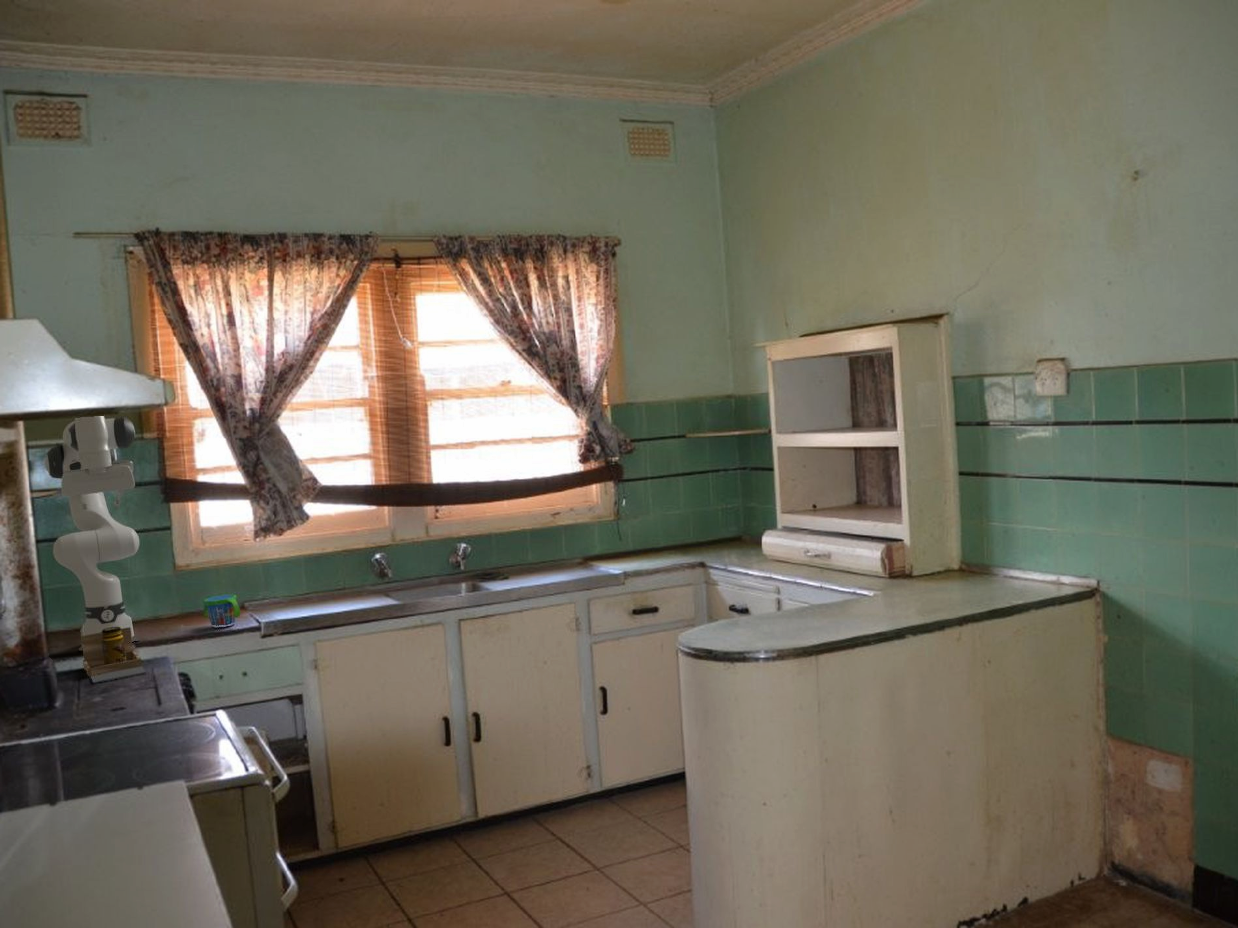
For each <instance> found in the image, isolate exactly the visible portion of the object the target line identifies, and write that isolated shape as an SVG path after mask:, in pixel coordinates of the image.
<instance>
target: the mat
mask: <svg viewBox="0 0 1238 928" xmlns="http://www.w3.org/2000/svg"><path fill="white" fill-rule="evenodd" d="M146 674H147V671H146V669H145V668H144V667H143V665H142V666H141V667H136V668H131V669H126V670H120V671H115V672H110V673H105V674H100V675H95V676H90V677H91V678H90V677H89V678H90V680H91V679H92V680H91V682H92V681H93V682H92V683H97V684H99V683H98V682H101V681H107V682H112V681H116V680H115V679H117V680H121V679H122V680H123V679H127V678H132V677H137V676H141V675H146ZM126 677H127V678H126ZM111 680H112V681H111Z"/></svg>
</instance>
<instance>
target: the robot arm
mask: <svg viewBox="0 0 1238 928" xmlns="http://www.w3.org/2000/svg"><path fill="white" fill-rule="evenodd" d="M135 439H136V431H135V427H134V424H133V422H132V421H131V420H130V419H129V418H127V417H125V416H119V417H114V418H113V417H111V418H105V415H104V416H94V417H81V418H75V417H74V421H72V422H70V423H68V424H67V425H66V426H65V428H64V430H63V433H62V440H63V443H61V444H59V442H57V443H55V446H53V447H51V448H50V449H49V450H48V451H47V452H46V456H45V460H44V466H45V469H46V471H47V473H48V475H49V476H50V477H51V478H53V479H61V486H60V487H61V494H62V496H64V497H68V503H69V509H70V513H71V518H72V522H73V524H74V526H75V527H76V528H77V529H79V531H78V532H72V533H68V534H65V535H62V536H59V537H58V538H57V539H56V540H55V542H54V544H53V547H52V552H53V553H52V554H53V557H54V559H55V560H56V562H57V563H58V564H59V565H61V566H63V567H65V568H66V569H68V570H70V571H71V572H72V573H74V575H75V576H76V577H77V579H79V580H78V581H79V582H80V584H81V587H82V590H83V596H84V602H85V606H84V614H85V618H86V621H85V622H83V625H82V627H81V628H80V637H81V636H82V635H88V634H93V633H99V632H102V630H103V629H105V628H110V627H120V628H121V629H122V628H127V627H130V628H131V636H132V637H133V636H135V634H134V627H133V622H132V618H131V616H130V615H128V614H127V613H126V605H125V601H124V600H123V596H122V588H121V587H122V586H121V581H120V579H119V577H118V576H117V575H115V574H112V573H110V572H106V571H102V570H100V569H99V567H97V565H98V564H100V563H106V562H113V561H120V560H123V559H124V560H125V559H127V558H130V557H133V556H135V555H136V554H137V552H138V551H139V548H140V537H139V535H138V533H137V532H136V531H135V529H133V528H132V527H129V526H126V525H124V524H122V523H119V522H118V521H116V520H115V519H114V517H112V516H111V514H110V511H109V509H108V506H107V501H106V497H105V494H104V493H106V492H117V494H119V495H118V497H117V499H114V506H115V507H116V506H122V503H121V500H122V498H123V495H124V491H125V490H132V489H134V488H135V486H136V483H135V478H134V474H133V472H134V470H135V469H134V468H135V467H134V463H133V462H132V461H131V460H129V459H127V458H125V459H118V455H117V452H116V450H118V449H119V450H121V449H122V450H123V449H129V448H130V447H131V446H132V445H133V443H134V442H135Z"/></svg>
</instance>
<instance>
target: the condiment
mask: <svg viewBox="0 0 1238 928" xmlns="http://www.w3.org/2000/svg"><path fill="white" fill-rule="evenodd" d="M121 633H122V632H121V628H120V627H110V628H105V629H103V630H102V636H103V638H102V648H103V656H104V663H105V665H109V664H115V663H120V662H125V661H126V654H125V646H124V639H123V636H122V635H121Z"/></svg>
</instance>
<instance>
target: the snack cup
mask: <svg viewBox="0 0 1238 928" xmlns="http://www.w3.org/2000/svg"><path fill="white" fill-rule="evenodd" d="M203 604H204V606H203V615H204V617H205V618H208V617H209V621H210V624H211V626H212V625H216V626H217V625H218V626H219V625H228V624H231V623H234V622H235V623H236V618H239V617H240V616H241V610H240V609H241V608H240V606H239V604H238V602H237V595H236V594H223V595H216V596H212V597H209V598H208V597H207V598H206V599H204V600H203Z"/></svg>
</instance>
